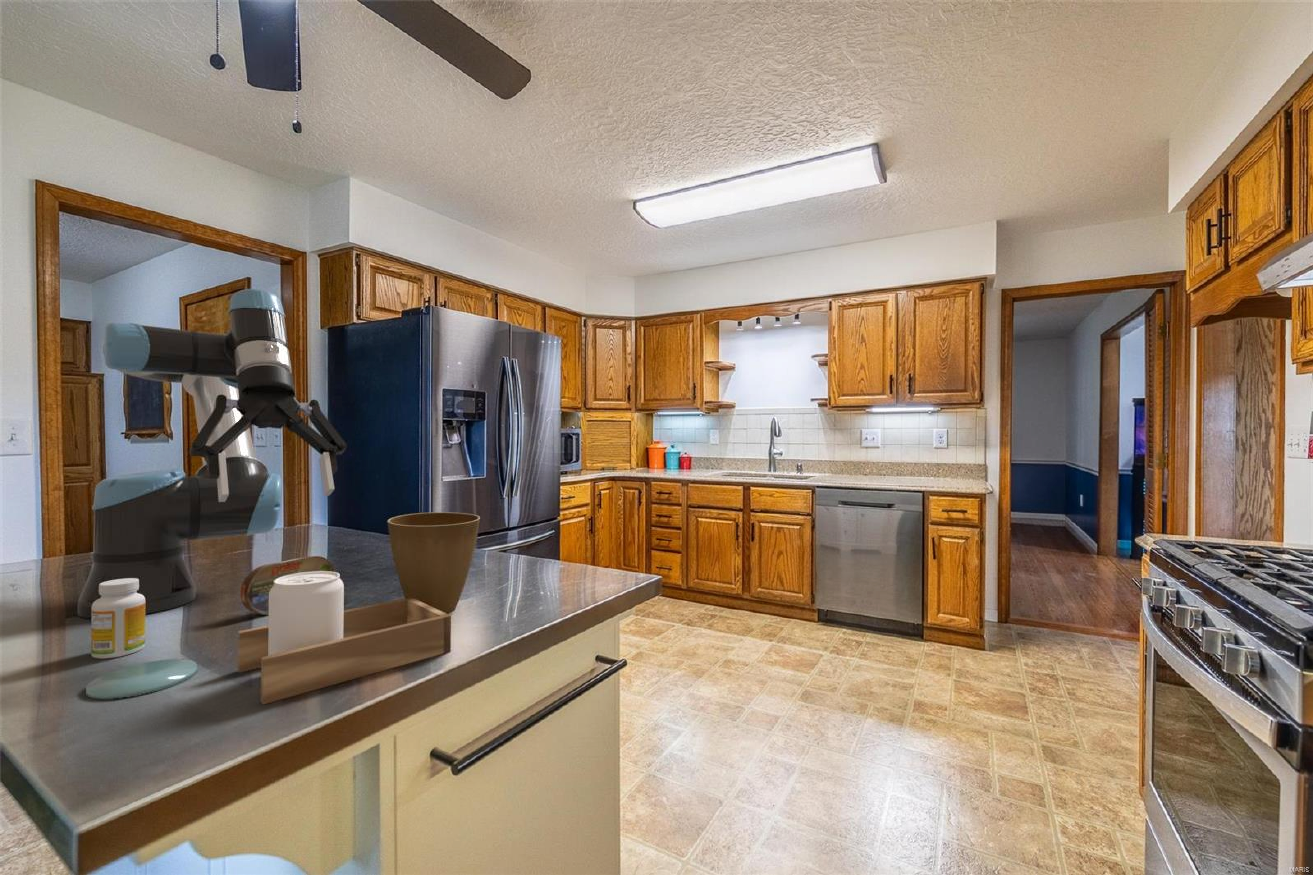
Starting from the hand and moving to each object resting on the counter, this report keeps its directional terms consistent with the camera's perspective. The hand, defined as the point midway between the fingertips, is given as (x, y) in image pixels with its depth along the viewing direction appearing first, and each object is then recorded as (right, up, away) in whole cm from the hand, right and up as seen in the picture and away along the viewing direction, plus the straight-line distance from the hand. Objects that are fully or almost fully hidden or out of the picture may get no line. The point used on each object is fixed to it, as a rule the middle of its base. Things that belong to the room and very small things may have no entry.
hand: (279, 495), depth 85 cm
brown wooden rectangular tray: (+17, -21, -9) cm, 28 cm away
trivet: (-5, -21, -17) cm, 27 cm away
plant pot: (+19, -21, +12) cm, 31 cm away
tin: (-7, -21, +13) cm, 26 cm away
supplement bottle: (-17, -21, -8) cm, 28 cm away
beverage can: (+13, -21, -14) cm, 28 cm away
